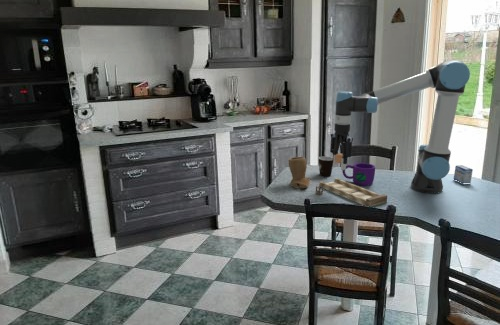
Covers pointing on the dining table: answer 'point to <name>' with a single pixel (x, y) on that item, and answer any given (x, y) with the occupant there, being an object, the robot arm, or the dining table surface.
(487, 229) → the dining table surface
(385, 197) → the wooden compartment tray
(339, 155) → the ball
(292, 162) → the brown boot
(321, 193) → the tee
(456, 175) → the medicine box
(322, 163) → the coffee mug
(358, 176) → the mug
